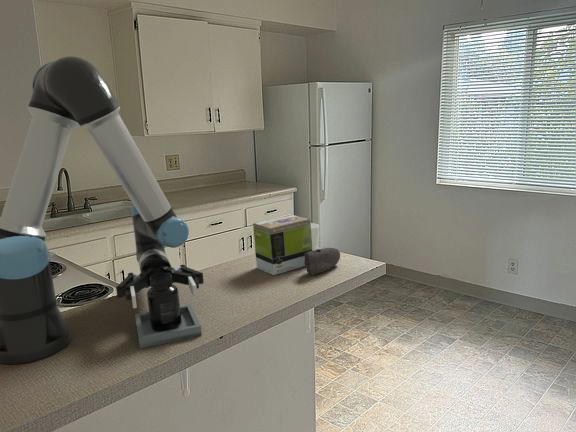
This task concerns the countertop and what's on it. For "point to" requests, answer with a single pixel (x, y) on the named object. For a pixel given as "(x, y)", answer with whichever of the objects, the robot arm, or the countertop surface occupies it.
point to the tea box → (282, 243)
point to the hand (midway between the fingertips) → (165, 296)
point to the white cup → (315, 236)
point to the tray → (184, 331)
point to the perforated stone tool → (321, 260)
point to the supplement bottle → (163, 303)
